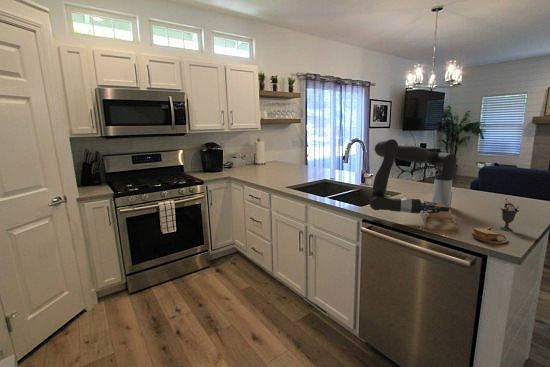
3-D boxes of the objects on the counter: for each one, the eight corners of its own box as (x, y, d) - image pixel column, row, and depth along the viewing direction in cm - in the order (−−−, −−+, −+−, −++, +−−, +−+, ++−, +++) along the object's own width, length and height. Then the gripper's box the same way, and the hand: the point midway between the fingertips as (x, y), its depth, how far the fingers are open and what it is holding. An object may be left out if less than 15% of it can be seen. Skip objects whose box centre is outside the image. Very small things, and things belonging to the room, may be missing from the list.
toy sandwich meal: (515, 244, 115) (517, 234, 114) (483, 245, 115) (484, 235, 114) (492, 233, 127) (493, 223, 126) (463, 233, 127) (464, 224, 126)
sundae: (493, 227, 133) (498, 197, 130) (506, 226, 134) (511, 197, 130) (505, 232, 127) (510, 201, 123) (519, 231, 127) (524, 201, 124)
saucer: (431, 225, 138) (426, 207, 138) (431, 224, 140) (426, 206, 139) (454, 221, 135) (449, 202, 134) (453, 220, 136) (448, 201, 135)
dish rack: (426, 228, 134) (426, 221, 134) (422, 219, 146) (422, 213, 146) (456, 230, 130) (457, 223, 129) (449, 221, 142) (450, 215, 141)
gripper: (412, 202, 134) (452, 205, 128) (409, 195, 147) (445, 197, 141) (410, 217, 135) (450, 220, 129) (407, 208, 148) (444, 211, 142)
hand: (447, 208), depth 135 cm, fingers open, 3 cm apart
